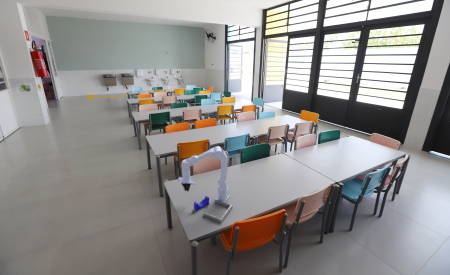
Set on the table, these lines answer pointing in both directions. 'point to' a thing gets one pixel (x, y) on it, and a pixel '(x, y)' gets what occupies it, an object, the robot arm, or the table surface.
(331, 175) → the table surface
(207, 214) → the bracket
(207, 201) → the cable clip
